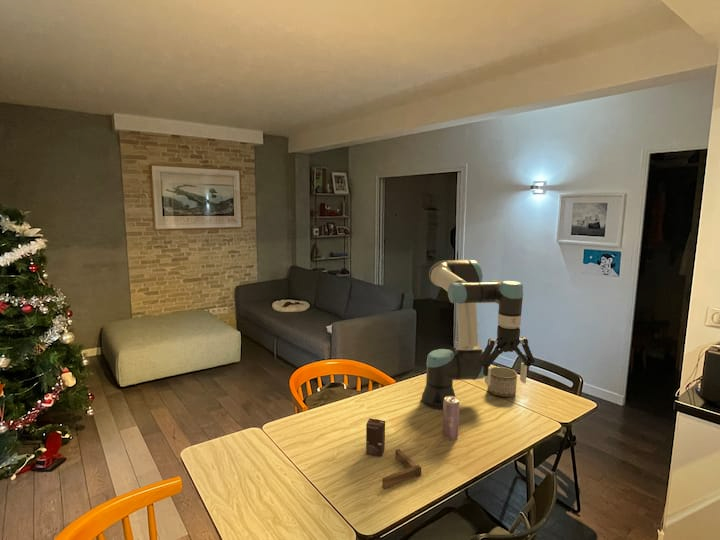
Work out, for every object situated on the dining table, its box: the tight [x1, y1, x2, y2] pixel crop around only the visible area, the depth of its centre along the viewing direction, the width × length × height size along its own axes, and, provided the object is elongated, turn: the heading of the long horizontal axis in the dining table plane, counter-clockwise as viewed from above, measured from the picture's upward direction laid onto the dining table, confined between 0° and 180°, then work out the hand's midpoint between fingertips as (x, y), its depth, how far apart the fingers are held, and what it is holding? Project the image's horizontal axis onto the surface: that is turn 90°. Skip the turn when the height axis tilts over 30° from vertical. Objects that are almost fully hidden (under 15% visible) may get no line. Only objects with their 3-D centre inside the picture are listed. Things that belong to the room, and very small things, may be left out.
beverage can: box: [441, 396, 460, 440], centre depth 155 cm, size 6×6×15 cm
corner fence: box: [381, 448, 422, 490], centre depth 135 cm, size 12×14×3 cm
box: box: [365, 418, 386, 458], centre depth 144 cm, size 6×4×12 cm
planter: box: [487, 366, 518, 398], centre depth 192 cm, size 13×13×10 cm
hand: (505, 382), depth 145 cm, fingers open, 13 cm apart
